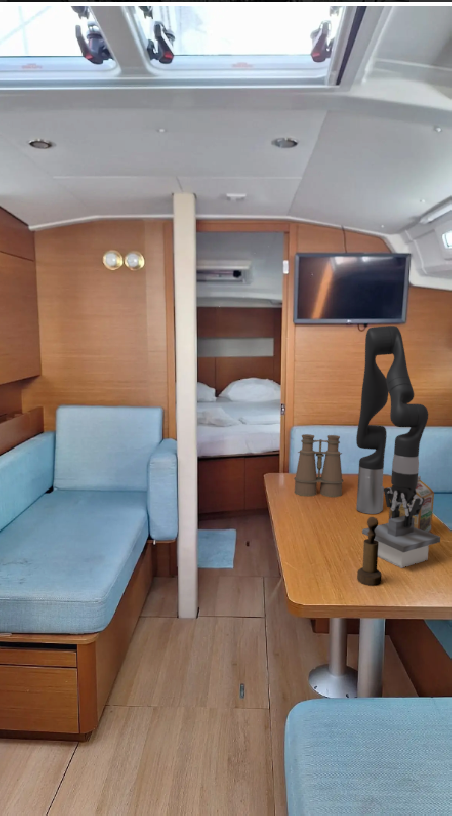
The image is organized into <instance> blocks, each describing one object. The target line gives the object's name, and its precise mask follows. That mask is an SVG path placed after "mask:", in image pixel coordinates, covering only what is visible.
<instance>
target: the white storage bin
mask: <svg viewBox="0 0 452 816" xmlns="http://www.w3.org/2000/svg"><path fill="white" fill-rule="evenodd" d="M374 540H375V539H374ZM376 541H377V540H376ZM378 542H379V541H378ZM429 546H430V545H428V546H424V547H421V548H417V549H414V550H410V551H406V552H401V551H399V550H397V549H395V548H392V547H390V546H388V545H386V544H384V543H381V542H379V545H378V558H380V559H381V560H385V561H386V562H388V563H390V564H393V565H395V566H396V567H398V568H401V569H402V568H405V566H406V567H410V566H411V565H416V564H418V563H421V562H425V560H426V561H428V558H429V549H430V547H429ZM415 563H416V564H415Z"/></svg>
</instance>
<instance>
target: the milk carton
mask: <svg viewBox="0 0 452 816" xmlns="http://www.w3.org/2000/svg"><path fill="white" fill-rule="evenodd" d="M416 492H417V495H418V496H419V497H420V498H422V497H423V498H424V499H425V500H424V503H423V505H422V508H421V510H420V512H419V514H418V515H414V516H413V518H415V520H414V527H416V528H418V529H421V530H424V531H426V532H429V533H431V534H432V525H433V514H434V513H433V512H434V500H435V499H434V498H435V492H434V491H433V489H431V487H430V486H429V485H428V484H426V483H425V482H424V481H423V480H422V478H421V475H418V485H417V487H416ZM393 496H394V495H393ZM413 501H414V499H413ZM390 503H391V501H390ZM407 505H409V504H407ZM388 508H389V510H388V520H389V519H392V510H391V508H390V507H388ZM399 511H400V516H399V517H401V516H405V509H404V508H403V503H402V504H401V506H400V509H399Z"/></svg>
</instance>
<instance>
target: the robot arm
mask: <svg viewBox="0 0 452 816" xmlns="http://www.w3.org/2000/svg"><path fill="white" fill-rule="evenodd" d="M364 340H365V342H364V369H363V378H362V384H361V385H362V386H361V395H360V409H359V411H360V412H359V416H358V417H359V418H358V419H359V420H358V426H357V431H356V435H355V436H356V439H355V440H356V446H357V448H359V449H361V450H362V449H363V450H372V451H373V450H375V451H374V452H373V453H372V454H369V455H367V456H362V457H360V458H359V460H358V473H357V491H356V507H355V509H356V511H358V512H360V513H363V514H369V515H370V514H371V515H375V514H376V515H377V514H380V513H382V511H383V510H384V499H385V503H386V507H387V508H389V507H390V508H391V510H392V518H396V517H399V516H400V511H399V509H400V506H401V504H402V503H403V508H404V509H405V519H404V527H405V528H409V527H411V526H412V518H413V516H414V515H418V514H419V512H420V510H421V508H422V505H423V503H424V500H425V499H424V498H423V497H422V498H420V497H419V496H418V495H417V492H416V487H417V485H418V476H419V473H420V471H419V470H420V469H419V468H420V467H419V466H420V459H419V458H420V445H421V444H420V443H421V442H422V441H421V440H422V438H423V437H422V436H423V435H424V431H425V428H426V425H427V423H428V421H429V412H428V411H429V410H428V408H427V407H426V406H425V405H424V404H422V403H411V402H412V401H413V400H414V398H415V391H414V388H413V385H412V382H411V379H410V376H409V375H410V374H409V373H408V367H407V361H406V360H407V359H406V355H405V354H406V353H405V349H404V344H403V337H402V334H401V331H400V329H399V328H398V327H397V326H393V325H392V326H391V325H390V326H378V327H370V328H368V329H367V330H366V333H365V339H364ZM381 355H382V356H384V355H393V361H392V362H391V365H390V367H389V368H388V371H387V373H386V376H385V374H384V373H383V371H382V370H381V369H380V367H379V365H378V363H377V359H376V358H377V356H381ZM389 397H390V413H389V414H390V415H389V416H390V417H389V418H390V421H391V423H392V424H393V425H394V426H395V427H397V428H409V430H408V431H407V432H406V433H401V434H398V435H396V436H395V439H394V447H393V449H394V451H393V458H392V463H391V464H392V466H391V467H392V468H391V478H390V479H391V486H388V487H385V486H384V485H383V483H384V468H385V453H386V445H387V444H386V443H387V437H388V436H387V428H386V427H385V426H384V425H370V422H371V421H372V419H373V418H374V417H375V416H377V415H378V413H380V412H381V411H382V410H383V408H384V407H385V406H386V405H387V402H388V398H389ZM393 495H394V496H393ZM384 497H385V498H384ZM413 499H414V501H413ZM390 501H391V503H390ZM407 504H409V505H407Z"/></svg>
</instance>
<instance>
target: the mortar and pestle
mask: <svg viewBox="0 0 452 816" xmlns="http://www.w3.org/2000/svg"><path fill="white" fill-rule="evenodd" d="M366 524H367V528H368V527H369V532H368V533H367V535H368V536H367V539H366V538H365V539H364V540H363V544H362V545H363V546H362V547H363V550H362V551H363V552H362V566H361V567H359V568H358V569H357V572H356V573H357V574H356V575H357V576H356V580H357V581H358V583H359V584H363V585H366V586H372V587H373V586H379V585H380V584H381V583H382V579H383V578H382V575H383V574H382V572H381V571H380V570H379V569H378V563H379V562H378V558H379V557H378V545H379V542H378V541H376V540H374V539H375V537H376V533H375V529H376V527H377V526H378V525H379V520H378V518H376V517H374V516H369V517H368V518H367V520H366Z"/></svg>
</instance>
